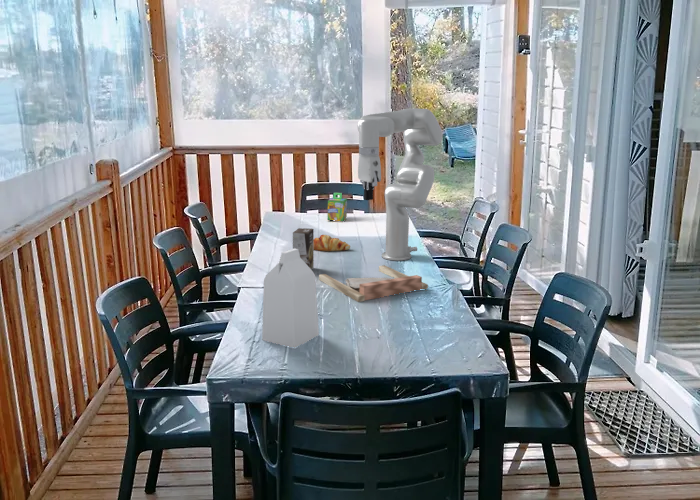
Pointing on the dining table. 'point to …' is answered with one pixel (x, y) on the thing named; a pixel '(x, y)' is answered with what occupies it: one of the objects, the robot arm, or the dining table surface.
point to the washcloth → (361, 282)
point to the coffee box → (304, 245)
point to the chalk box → (337, 208)
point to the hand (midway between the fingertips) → (368, 199)
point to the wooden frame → (378, 285)
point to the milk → (290, 302)
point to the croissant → (329, 244)
